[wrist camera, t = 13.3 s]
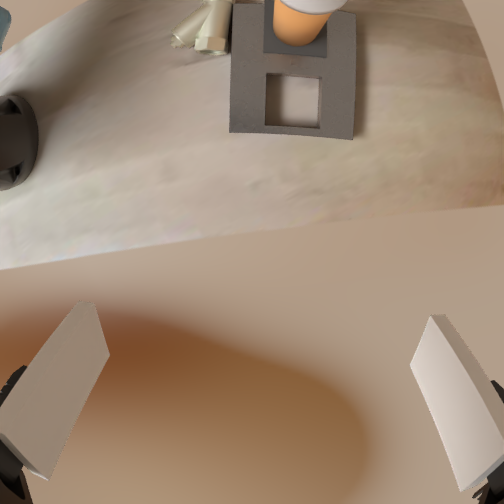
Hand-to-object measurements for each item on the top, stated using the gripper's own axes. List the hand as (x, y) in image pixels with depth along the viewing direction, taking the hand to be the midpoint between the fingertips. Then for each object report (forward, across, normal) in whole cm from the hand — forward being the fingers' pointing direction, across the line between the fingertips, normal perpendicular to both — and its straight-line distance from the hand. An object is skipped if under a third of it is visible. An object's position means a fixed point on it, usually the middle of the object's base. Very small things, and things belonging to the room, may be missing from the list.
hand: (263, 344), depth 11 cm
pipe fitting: (+29, -8, +20) cm, 36 cm away
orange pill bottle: (+26, +3, +19) cm, 33 cm away
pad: (+27, +3, +19) cm, 33 cm away
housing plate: (+29, +3, +14) cm, 32 cm away
